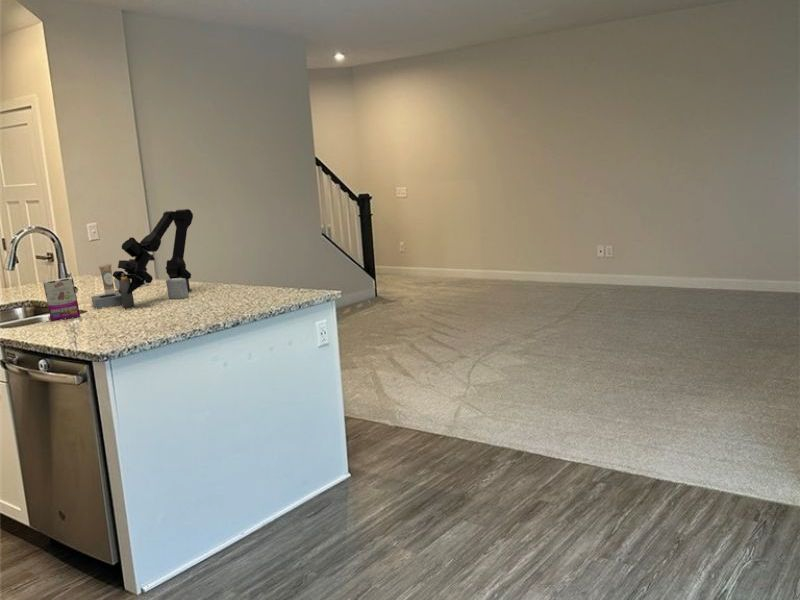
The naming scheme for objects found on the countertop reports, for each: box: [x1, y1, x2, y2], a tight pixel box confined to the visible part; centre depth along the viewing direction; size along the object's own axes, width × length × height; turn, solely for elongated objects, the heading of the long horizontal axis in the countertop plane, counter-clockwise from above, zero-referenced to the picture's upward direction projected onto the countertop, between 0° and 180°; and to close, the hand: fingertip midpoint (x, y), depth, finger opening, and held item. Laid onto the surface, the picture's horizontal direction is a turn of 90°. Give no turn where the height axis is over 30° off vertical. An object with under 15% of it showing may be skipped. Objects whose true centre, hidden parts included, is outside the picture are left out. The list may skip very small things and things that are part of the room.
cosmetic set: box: [98, 257, 150, 295], centre depth 345 cm, size 25×9×19 cm, turn 145°
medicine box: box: [165, 278, 189, 300], centre depth 310 cm, size 8×4×9 cm, turn 65°
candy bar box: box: [42, 276, 81, 322], centre depth 285 cm, size 11×5×16 cm, turn 117°
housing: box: [90, 291, 123, 309], centre depth 309 cm, size 12×12×4 cm
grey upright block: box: [119, 276, 136, 310], centre depth 296 cm, size 5×5×14 cm
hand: (123, 293), depth 295 cm, fingers closed on grey upright block, 5 cm apart
